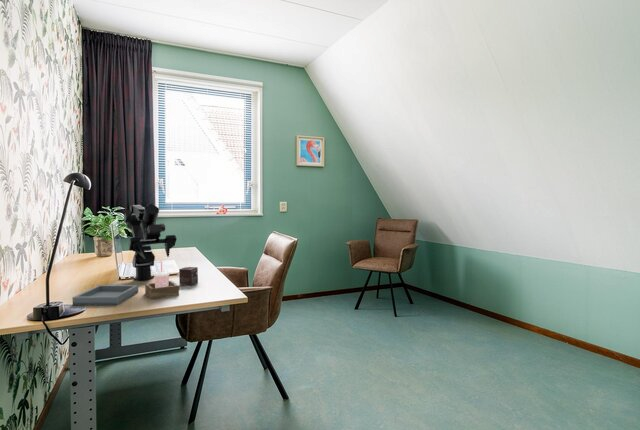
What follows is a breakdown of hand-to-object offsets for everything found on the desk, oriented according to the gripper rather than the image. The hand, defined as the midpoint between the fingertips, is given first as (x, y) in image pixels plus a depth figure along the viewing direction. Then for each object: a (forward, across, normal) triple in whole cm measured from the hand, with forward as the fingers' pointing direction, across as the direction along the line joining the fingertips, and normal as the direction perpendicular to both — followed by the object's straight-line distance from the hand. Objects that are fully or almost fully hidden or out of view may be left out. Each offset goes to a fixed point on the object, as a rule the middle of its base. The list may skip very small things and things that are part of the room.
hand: (157, 257), depth 163 cm
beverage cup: (+16, 0, +5) cm, 16 cm away
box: (+8, +14, +12) cm, 20 cm away
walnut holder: (+16, 0, +5) cm, 16 cm away
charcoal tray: (+11, -19, +9) cm, 24 cm away
